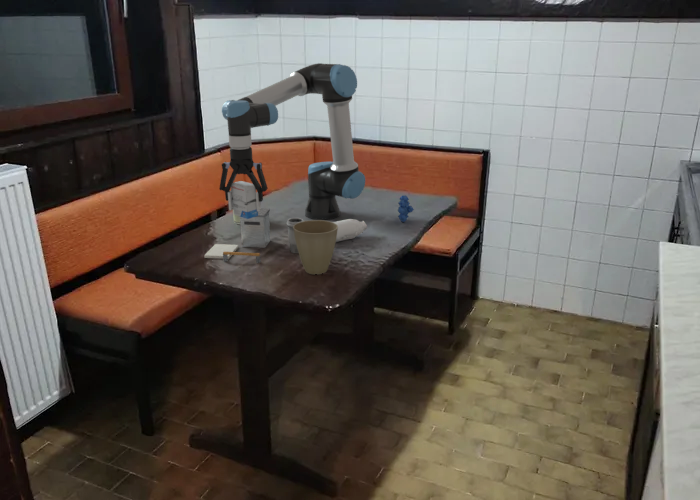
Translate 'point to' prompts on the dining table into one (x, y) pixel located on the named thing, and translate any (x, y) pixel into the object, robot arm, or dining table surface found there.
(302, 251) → the plant pot
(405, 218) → the grapes
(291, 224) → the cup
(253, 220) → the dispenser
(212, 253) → the tile
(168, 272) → the dining table surface
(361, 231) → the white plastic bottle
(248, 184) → the ink box
